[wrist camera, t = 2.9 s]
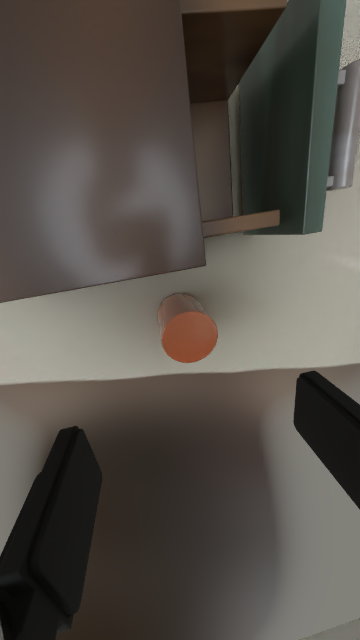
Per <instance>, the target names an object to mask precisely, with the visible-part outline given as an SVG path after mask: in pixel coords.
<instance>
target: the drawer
mask: <svg viewBox="0 0 360 640" xmlns="http://www.w3.org/2000/svg"><path fill="white" fill-rule="evenodd" d="M180 5H181V15H182V25H183V36H184V46H185V56H186V66H187V76H188V86H189V97H190V107H191V117H192V127H193V137H194V147H195V158H196V168H197V178H198V188H199V198H200V208H201V219H202V229H203V238H206V237H212V236H218V235H224V234H230V233H236V232H242V231H244V235H304V234H310V233H316V232H321V231H322V227H323V217H324V208H325V198H326V191H334V190H339V189H344V188H348V187H351V186H352V182H353V175H354V168H355V161H356V154H357V147H358V140H359V133H360V59H359V60H356V61H354V62H352V63H350V64H348V65H347V66H345V67H344V68H343V69H341V70H339V65H340V55H341V46H342V36H343V27H344V17H345V8H346V0H288V2H287V0H180ZM238 83H239V88H240V123H241V158H242V193H243V215H241V216H235V217H233V203H232V181H231V159H230V137H229V115H228V99H229V98H230V96H231V94H232V93H233V91H234V90H235V88H236V86H237V85H238Z"/></svg>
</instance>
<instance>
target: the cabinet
mask: <svg viewBox="0 0 360 640" xmlns="http://www.w3.org/2000/svg"><path fill="white" fill-rule="evenodd" d="M202 266H206V259H205V249H204V239H203V229H202V219H201V208H200V198H199V188H198V178H197V168H196V158H195V147H194V137H193V127H192V117H191V107H190V97H189V86H188V76H187V66H186V56H185V46H184V36H183V25H182V15H181V5H180V0H0V303H2V302H8V301H13V300H19V299H24V298H30V297H35V296H41V295H46V294H52V293H58V292H63V291H69V290H74V289H80V288H85V287H91V286H96V285H102V284H108V283H113V282H119V281H124V280H130V279H135V278H141V277H146V276H152V275H158V274H163V273H169V272H174V271H180V270H185V269H191V268H197V267H202Z"/></svg>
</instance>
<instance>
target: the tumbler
mask: <svg viewBox="0 0 360 640" xmlns="http://www.w3.org/2000/svg"><path fill="white" fill-rule="evenodd" d="M157 318H158V324H159V330H160V335H161V341H162V346H163V348H164V351H165V352H166V353H167V355H168V356H169V357H171V358H172V359H174V360H176V361H178V362H183V363H192V362H196V361H199V360H201V359H203V358H205V357H206V356H207V355H208V354H210V352H211V351H212V350H213V349H214V347H215V345H216V342H217V338H218V331H217V327H216V324H215V323H214V321H213V320H212V319H211V317H210V316H209V315H208V314H207V312H206V311H205V310H204V309H203V308H202V306H201V305H200V304H199V303H198V302H197V300H196V299H195V298H193V297H192V296H190V295H187V294H182V293H179V294H174V295H171V296H169V297H167V298H166V299H165V300H164V301H163V302H162V303H161V305H160V306H159V309H158V313H157Z"/></svg>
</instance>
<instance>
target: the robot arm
mask: <svg viewBox="0 0 360 640" xmlns="http://www.w3.org/2000/svg"><path fill="white" fill-rule="evenodd" d="M294 426H295V428H296V430H297V431H298V432H299V434H300V435H301V436H302V437H303V439H304V440H305V441H306V442H307V444H308V445H309V446H310V447H311V449H312V450H313V451H314V452H315V454H316V455H317V456H318V458H319V459H320V460H321V461H322V463H323V464H324V465H325V466H326V468H327V469H328V470H329V471H330V473H331V474H332V475H333V476H334V478H335V479H336V480H337V481H338V483H339V484H340V485H341V486H342V488H343V489H344V490H345V491H346V493H347V494H348V495H349V496H350V498H351V499H352V500H353V501H354V503H355V504H356V505H357V506H358V508H359V509H360V405H359V404H358V403H357V402H355V401H354V400H353V399H351V398H350V397H349V396H347V395H346V394H345V393H344V392H342V391H341V390H340V389H338V388H337V387H336V386H335V385H333V384H332V383H331V382H329V381H328V380H327V379H326V378H324V377H323V376H322V375H320V374H319V373H318V372H316V371H310V372H305V373H302V374H300V376H299V378H297V384H296V396H295V409H294ZM101 483H102V472H101V470H100V467H99V465H98V462H97V460H96V458H95V455H94V453H93V451H92V449H91V447H90V444H89V442H88V440H87V437H86V435H85V433H84V431H83V429H79V428H78V427H77V426H74V427H69V428H66V429H62V430H60V431H59V433H58V435H57V437H56V440H55V442H54V444H53V447H52V449H51V451H50V453H49V456H48V458H47V460H46V463H45V465H44V467H43V470H42V472H40V473H39V474H38V475H37V477H36V479H35V480H34V482H33V485H32V487H31V489H30V491H29V494H28V496H27V498H26V500H25V502H24V505H23V507H22V509H21V511H20V514H19V516H18V518H17V520H16V523H15V525H14V527H13V529H12V532H11V533H10V536H9V538H8V541H7V542H6V545H5V547H4V549H3V551H2V554H1V556H0V640H55V638H56V634H57V633H59V632H62V631H65V630H68V629H71V625H72V620H73V614H74V613H76V612H77V611H78V609H79V607H80V603H81V598H82V593H83V587H84V581H85V575H86V570H87V563H88V558H89V552H90V546H91V540H92V534H93V528H94V523H95V517H96V511H97V506H98V500H99V494H100V488H101ZM301 640H360V618H359V619H357V620H354V621H351V622H348V623H345V624H342V625H340V626H337V627H334V628H331V629H328V630H326V631H323V632H320V633H317V634H314V635H312V636H309V637H306V638H304V639H301Z"/></svg>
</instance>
